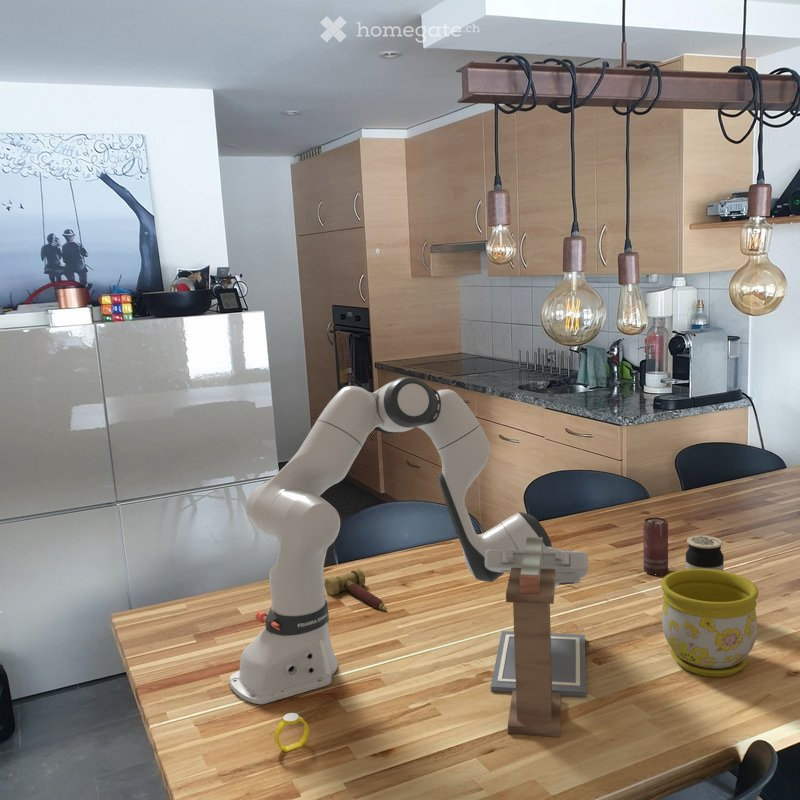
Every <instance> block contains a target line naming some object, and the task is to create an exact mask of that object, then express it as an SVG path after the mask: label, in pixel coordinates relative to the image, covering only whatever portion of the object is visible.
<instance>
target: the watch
mask: <svg viewBox="0 0 800 800" xmlns="http://www.w3.org/2000/svg"><path fill="white" fill-rule="evenodd" d="M299 722H301V723H303V727H304V730H303V734H302V736H301V737H300V738H299V741H297V742H294V743H292V744H289V745H286V746H284V745H282V744H280V734H281V732H282V730H283V729H284V728H285V727H286V725H289V726H290V725H291V726H292V725H296V724H297V723H299ZM273 734H274V742H275V743H276V745H277V747H278V748H279V749H280V750H281V751H282V752H285V753H288V752H291V751H293V750H296V749H299V748H302V747H303V746H304V745H305V743H306V742H307V741H308V738H309V735H310V728H309V725H308V723H307V722H306V720H304V718H303V717H302V716H301V715H299V714H298V713H296V712H288V713H286V714H285V715H283V717H282V720H281V721H280V722H279V723H278V725H277V726H276V728H275V731H274V733H273Z"/></svg>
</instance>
